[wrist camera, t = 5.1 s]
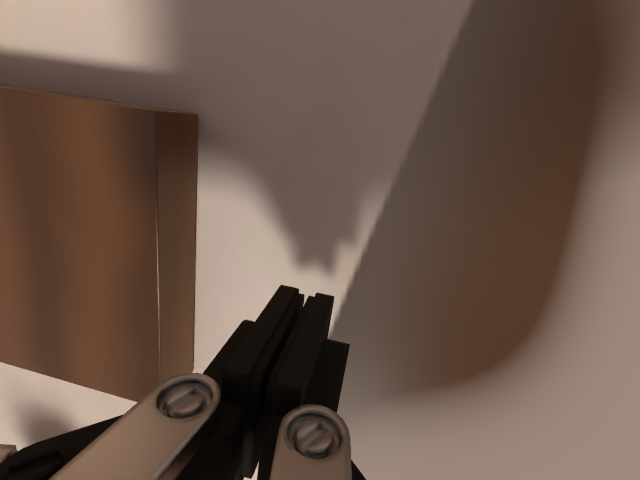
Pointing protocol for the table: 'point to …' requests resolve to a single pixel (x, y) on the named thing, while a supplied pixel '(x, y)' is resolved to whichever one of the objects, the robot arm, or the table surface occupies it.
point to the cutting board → (97, 240)
